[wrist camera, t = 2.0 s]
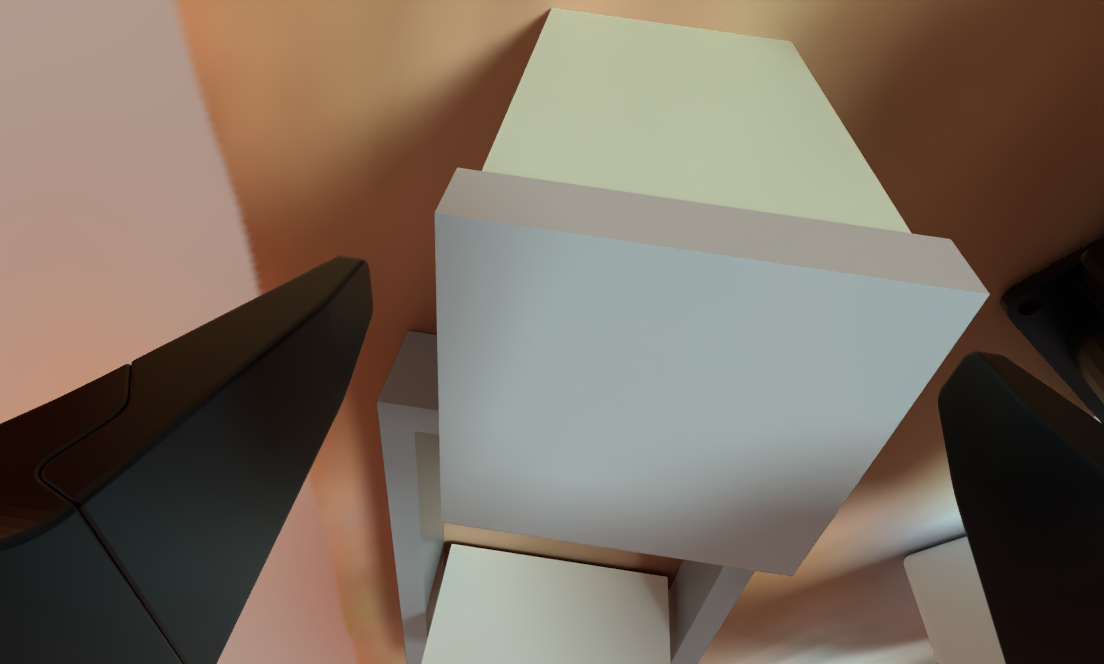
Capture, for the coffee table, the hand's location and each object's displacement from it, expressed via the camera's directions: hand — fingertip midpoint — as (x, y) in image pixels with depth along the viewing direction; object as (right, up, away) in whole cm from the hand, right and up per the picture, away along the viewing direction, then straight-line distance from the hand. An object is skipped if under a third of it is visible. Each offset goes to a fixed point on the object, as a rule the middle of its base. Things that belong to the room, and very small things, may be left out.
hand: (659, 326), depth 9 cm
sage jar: (+1, +4, +5) cm, 7 cm away
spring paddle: (-2, -12, +20) cm, 23 cm away
